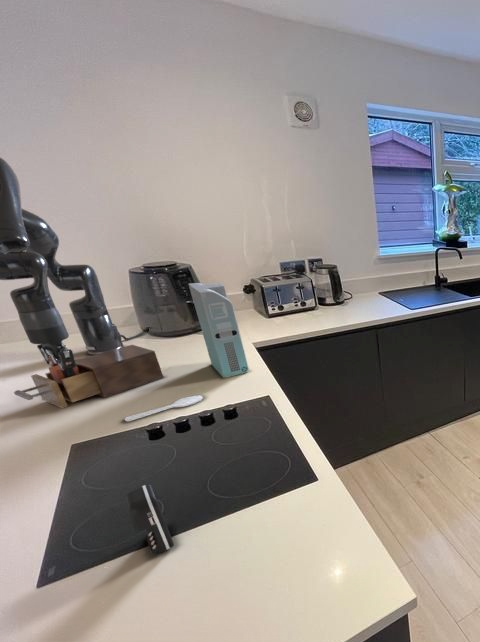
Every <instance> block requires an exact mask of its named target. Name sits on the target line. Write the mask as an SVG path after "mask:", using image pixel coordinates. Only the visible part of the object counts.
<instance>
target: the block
mask: <svg viewBox="0 0 480 642" xmlns="http://www.w3.org/2000/svg"><path fill="white" fill-rule="evenodd" d="M66 365H69V364H68V363H66ZM47 369H48V371H49V372H50V373H51V375H52V377H53V379H54V381H55V382H57V383H60V384H63V383H62V381H61V379H65V377H64V375H63V373H62V370H61V369H60V367H59V365H57V366H54V367H51V366H50V367H48V368H47ZM73 369H74V372H75V374H76V375H79V374H80V373H79V371H78V368H77V366H76V367H74V368H73Z"/></svg>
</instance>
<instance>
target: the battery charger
mask: <svg viewBox="0 0 480 642" xmlns="http://www.w3.org/2000/svg"><path fill="white" fill-rule="evenodd" d="M124 499H125V500H124V501H125V504H126V508H127V512H128V514H129V517H130V520H131V524H132V526H133V528H134V530H135V531H136V532H142V531H145V530H147V531H148V533H147V534H146V542H147V545H148V547H149V551H150V552H151V554H153V555H156V554H160V553H162V552H164V551H167V550H170V549H172V548H173V547H174V546H175V543H174V540H173V537H172V535H171V532H170V530H169V527H168V525H167V522H166V519H165V517H164V514H163V512H162V510H161V507H160V504H159V502H158V500H157V497H156V494H155V492H154V489H153V487H152V485H151V484H150V483H149V484H144V485H142V486H139V487H137V488H135V489H132V490H130V491H128V492H127V493H126V494H125V496H124Z"/></svg>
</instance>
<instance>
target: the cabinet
mask: <svg viewBox="0 0 480 642" xmlns="http://www.w3.org/2000/svg"><path fill="white" fill-rule="evenodd" d="M74 360H75V363H76V365H77V366H80V367H83V368H86V369H89V370H91V371H93V374H94V376H95V379H96V381H97V383H98V386H99V388H100V391H101V393H99V394H96V396H99V397H101V398H108V397H111V396H114V395H117V394H120V393H122V392H123V393H124V392H126V391H128V390H131V389H134V388H137V387H140V386H143V385H146V384H149V383H152V382H156V381H157V380H160V379H163V378H164V374H163V371H162V368H161V366H160V363H159V360H158V356H157V355H156V351H155V350H152V349H149V348H147V347H142V346H138V345H135V344H130V345H126V346H124V347H122V348H118V349H115V350H111V351H107V352H103V353H99V354H96V355H89V356H85V357H81V358H77V359H74Z"/></svg>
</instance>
